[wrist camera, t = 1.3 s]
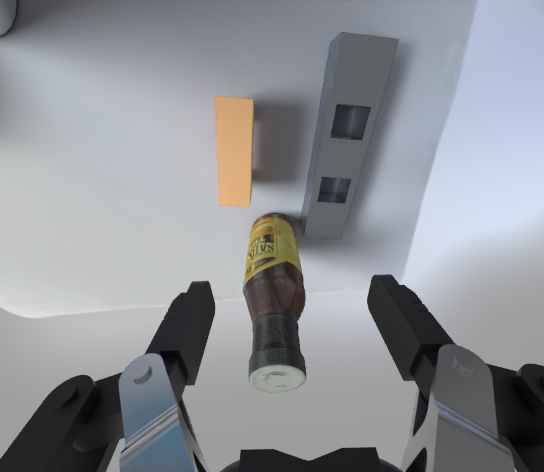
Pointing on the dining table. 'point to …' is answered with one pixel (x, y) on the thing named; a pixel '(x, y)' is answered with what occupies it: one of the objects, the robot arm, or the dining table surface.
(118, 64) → the dining table surface
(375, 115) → the rail
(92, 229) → the dining table surface
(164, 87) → the dining table surface
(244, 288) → the sauce bottle
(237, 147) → the orange block
